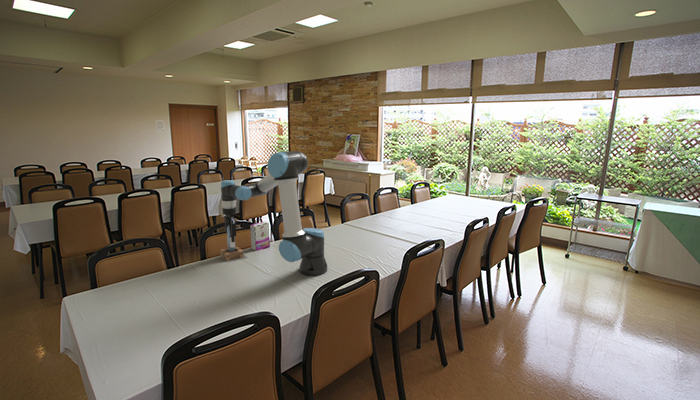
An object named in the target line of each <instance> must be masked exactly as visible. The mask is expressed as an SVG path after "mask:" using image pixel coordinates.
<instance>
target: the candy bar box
mask: <svg viewBox="0 0 700 400" xmlns="http://www.w3.org/2000/svg"><path fill="white" fill-rule="evenodd" d="M269 224H270V223H269V222H268V221H261V222H256V223H254V224H251V225H250V240H251V241H250V242H251V250H253V251H256V252H257V251H261V250H264V249H268V248H269V247H270V246H271V242H270V225H269Z"/></svg>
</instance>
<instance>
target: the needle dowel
mask: <svg viewBox="0 0 700 400" xmlns="http://www.w3.org/2000/svg"><path fill="white" fill-rule="evenodd" d="M229 236H230V229H229V226H228V227H227V232H226V239H227V240H228V243H227V248H228V251H229V252H233V251H235V247H236V246H235V247H232V248H231V247H230V237H229Z"/></svg>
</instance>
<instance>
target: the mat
mask: <svg viewBox="0 0 700 400" xmlns="http://www.w3.org/2000/svg"><path fill="white" fill-rule="evenodd" d="M243 255H244V258H239V259H234V260H230V261H226V262H227V263H231V262H235V261H241V260H245V259H248V258H249V257H248V256H247V255H245V254H244V253H243ZM219 256H220V257H221V254H220V255H219Z"/></svg>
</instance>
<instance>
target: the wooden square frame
mask: <svg viewBox="0 0 700 400" xmlns="http://www.w3.org/2000/svg"><path fill="white" fill-rule="evenodd" d="M243 254H244V250H243V249H241V248H240V247H239V246H235V251H233V252H229V251H228V247H227V248H222V249H220V255H221V256H220V257H221V258H222V259H223V260H225V261H226V262H227V261H230V260H234V259H239V258H244V255H245V254H244V255H243Z"/></svg>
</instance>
